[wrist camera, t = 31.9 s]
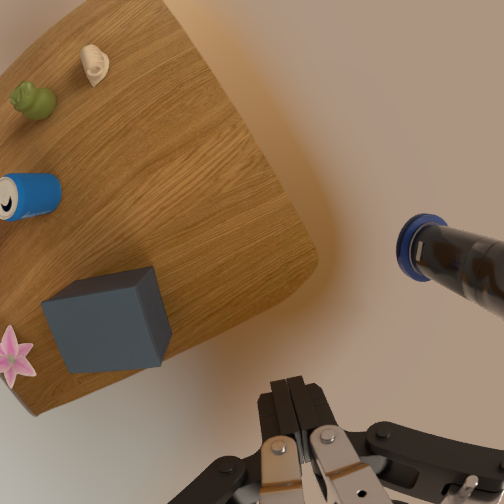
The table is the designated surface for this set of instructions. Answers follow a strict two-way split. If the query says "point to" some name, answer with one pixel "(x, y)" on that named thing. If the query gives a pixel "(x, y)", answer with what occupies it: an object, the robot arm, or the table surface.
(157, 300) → the chest
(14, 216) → the beverage can
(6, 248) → the table surface
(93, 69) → the decorative ornament
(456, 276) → the robot arm
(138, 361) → the lid
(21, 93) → the olive green lumpy piece
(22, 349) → the lily
